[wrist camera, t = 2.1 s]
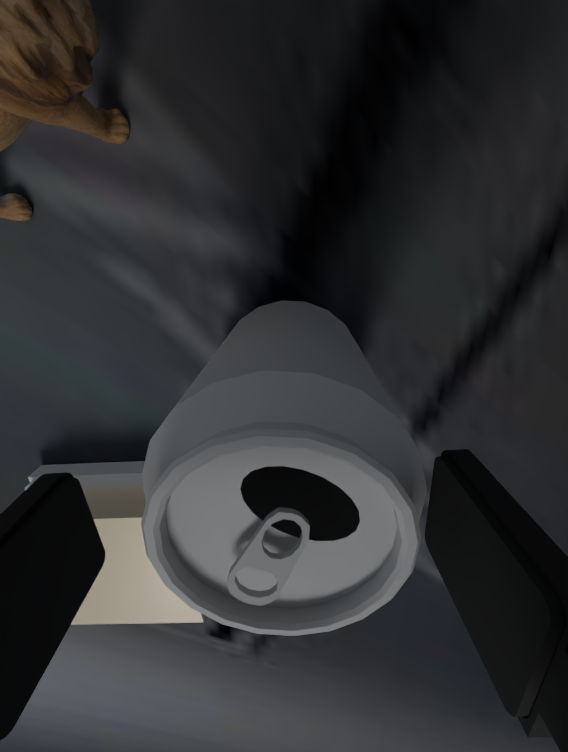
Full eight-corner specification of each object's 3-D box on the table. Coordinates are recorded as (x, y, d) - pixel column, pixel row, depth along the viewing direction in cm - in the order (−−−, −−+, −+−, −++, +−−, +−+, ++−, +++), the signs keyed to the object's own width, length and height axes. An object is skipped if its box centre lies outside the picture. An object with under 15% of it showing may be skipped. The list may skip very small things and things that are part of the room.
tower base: (209, 458, 21) (192, 501, 17) (230, 578, 25) (220, 631, 21) (41, 465, 21) (-7, 507, 18) (90, 581, 25) (58, 634, 22)
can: (386, 341, 17) (539, 514, 6) (313, 443, 20) (332, 692, 9) (261, 269, 16) (183, 328, 5) (202, 388, 19) (66, 595, 8)
